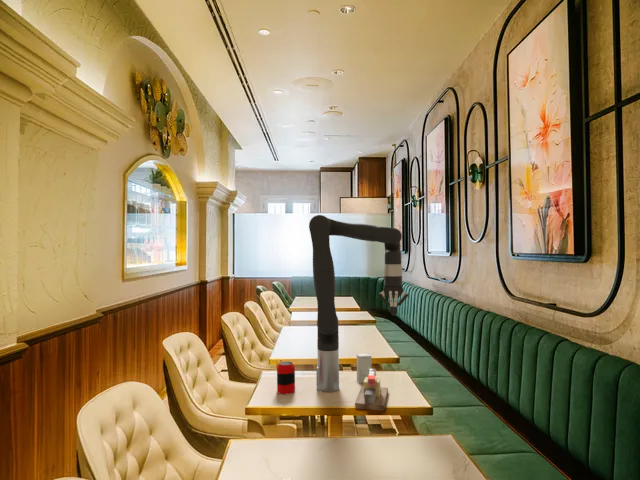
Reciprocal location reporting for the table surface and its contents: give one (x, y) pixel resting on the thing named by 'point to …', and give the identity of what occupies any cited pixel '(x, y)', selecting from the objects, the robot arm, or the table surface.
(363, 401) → the valve stand
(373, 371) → the valve lever
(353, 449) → the table surface
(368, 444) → the table surface
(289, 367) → the soda can
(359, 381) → the skincare box
